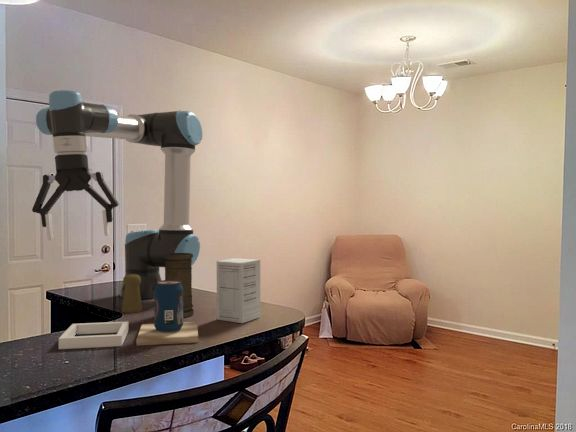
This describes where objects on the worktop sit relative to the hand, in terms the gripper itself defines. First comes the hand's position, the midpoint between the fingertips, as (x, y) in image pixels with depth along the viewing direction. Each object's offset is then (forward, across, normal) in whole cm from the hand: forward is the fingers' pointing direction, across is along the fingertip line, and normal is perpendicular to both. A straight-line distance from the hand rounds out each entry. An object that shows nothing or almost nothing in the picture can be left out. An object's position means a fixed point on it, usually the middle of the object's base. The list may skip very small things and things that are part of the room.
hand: (79, 237), depth 122 cm
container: (+27, +22, +13) cm, 37 cm away
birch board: (+25, +21, -10) cm, 34 cm away
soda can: (+24, +21, -10) cm, 33 cm away
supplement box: (+28, +39, +5) cm, 48 cm away
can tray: (+24, +4, -11) cm, 26 cm away
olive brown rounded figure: (+26, +8, +20) cm, 34 cm away
